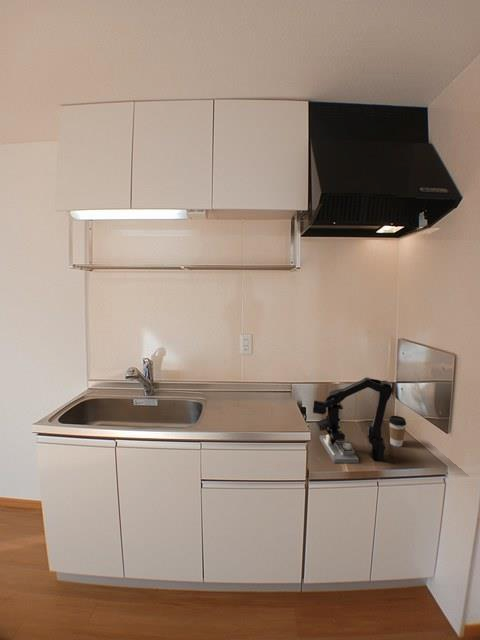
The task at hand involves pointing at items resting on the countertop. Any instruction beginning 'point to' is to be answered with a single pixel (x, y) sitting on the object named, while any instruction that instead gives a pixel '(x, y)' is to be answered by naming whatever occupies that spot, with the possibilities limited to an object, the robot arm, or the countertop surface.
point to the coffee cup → (397, 430)
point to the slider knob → (328, 440)
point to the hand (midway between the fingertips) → (332, 444)
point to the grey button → (347, 446)
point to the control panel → (339, 451)
